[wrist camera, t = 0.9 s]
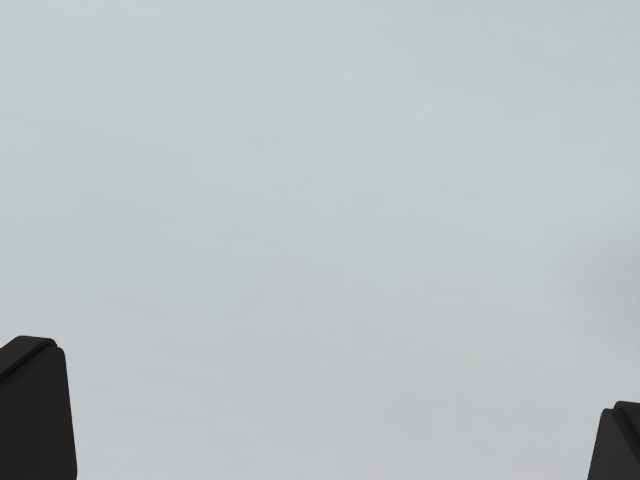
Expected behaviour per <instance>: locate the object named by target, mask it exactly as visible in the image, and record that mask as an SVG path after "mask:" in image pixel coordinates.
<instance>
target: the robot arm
mask: <svg viewBox="0 0 640 480" xmlns="http://www.w3.org/2000/svg"><path fill="white" fill-rule="evenodd" d="M76 479H77V461H76V452H75V443H74V434H73V425H72V415H71V406H70V397H69V388H68V378H67V369H66V360H65V354H64V351H63V349H61V348H60V347H57V344H56V342H55V341H54V340H53V339H51V338H42V337H32V336H18V337H16V338H14V339H13V340H12V341H10V342H9V343H7V344H6V345H5V346H3V347H2V348H0V480H76ZM587 480H640V403H635V402H626V401H618V402H616V404H615V406H614V408H613V409H607V408H606V409H604V410H603V412H602V414H601V417H600V422H599V427H598V432H597V436H596V441H595V446H594V451H593V455H592V460H591V465H590V470H589V474H588V479H587Z"/></svg>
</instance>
